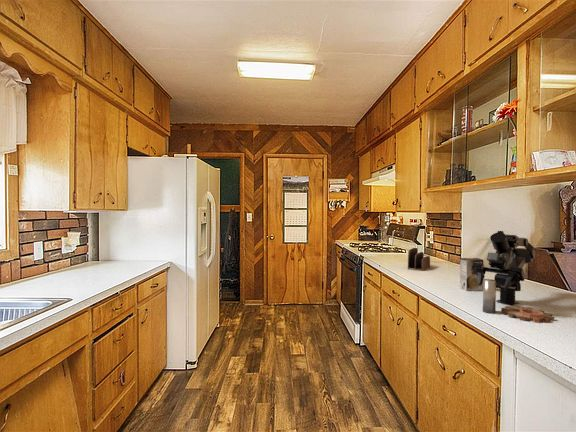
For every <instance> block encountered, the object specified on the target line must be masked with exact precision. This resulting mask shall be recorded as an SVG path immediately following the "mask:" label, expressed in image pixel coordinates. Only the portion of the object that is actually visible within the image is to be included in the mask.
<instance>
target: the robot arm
mask: <svg viewBox="0 0 576 432" xmlns="http://www.w3.org/2000/svg"><path fill="white" fill-rule="evenodd" d="M489 239H490V241H491V244H492V247H493V250H495V252H488V253H487V257H486V258H487V259H486V261H488V265H489V266H486V265H484V262H483V263H478V262H473V263H472V266H471V267H472V269H473V271H474V273H475V274H477V276H478V282H479V286H481V284H482V282H483V279H485V277H486V275H485V274H486V272H487V273H495V274H494V279H493V280H496V289H499V299H497V300H496V302H497V303H501V304H506V305H508V306H509V305H510V306H513V305H517V304H520V302H519V301H516V292H521V291H522V284H521V282H524V281H525V279H526V274H525V270H524V269H523V268H524V266H525V265H526V264H529V263H532V262H533V261H534V260H536V251H535V247H534V246H533V245H532V244H531V243H530V242H529V239H528V238H526V237H519V236H518V235H516V234H505V233H504V231H503V230H497V232H495V233H493V234H491V235H490V238H489ZM521 247H523V248H521ZM512 257H513V259H512V261H510V259H511V258H512Z"/></svg>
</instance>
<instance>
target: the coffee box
mask: <svg viewBox="0 0 576 432" xmlns="http://www.w3.org/2000/svg"><path fill="white" fill-rule="evenodd" d="M459 259H460V260H459V263H460V264H459V289H461V290H463V291H465V292H477V291H478V292H480V291H481V292H483V282H482V284H481V286H479V282H478V276H477V274H475V273H474V271H473V269H472V267H471V266H472V263H473V262H478V263H483V264H484V259H482V258H479V257H460V258H459Z"/></svg>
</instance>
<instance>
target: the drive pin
mask: <svg viewBox="0 0 576 432" xmlns="http://www.w3.org/2000/svg"><path fill="white" fill-rule="evenodd" d="M496 296H497V288H496V280H494V279H492V278H491V279H490V278H484V279H483V291H482V312H483V313H486V314H492V315H495V314H496V312H497V311H496V308H497V306H496V299H497V297H496Z"/></svg>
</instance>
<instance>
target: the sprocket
mask: <svg viewBox="0 0 576 432" xmlns="http://www.w3.org/2000/svg"><path fill="white" fill-rule="evenodd" d="M500 311H501V314H502V315H506V316H508V318H511V319H518V320H519V321H521V322H522V321H523V322H526V321H530V322H533V323H541V322H543V323H550V322H551V321H552V322H553V321H554V320H555V318H554V315H553V314H552V313H549V312H546V311H545V310H541V309H534V308H532V307H521V306H520V305H518V306H517V305H516V306H511V305H510V306H509V305H508V306H507V305H506V306H505V307H501V309H500Z"/></svg>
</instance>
